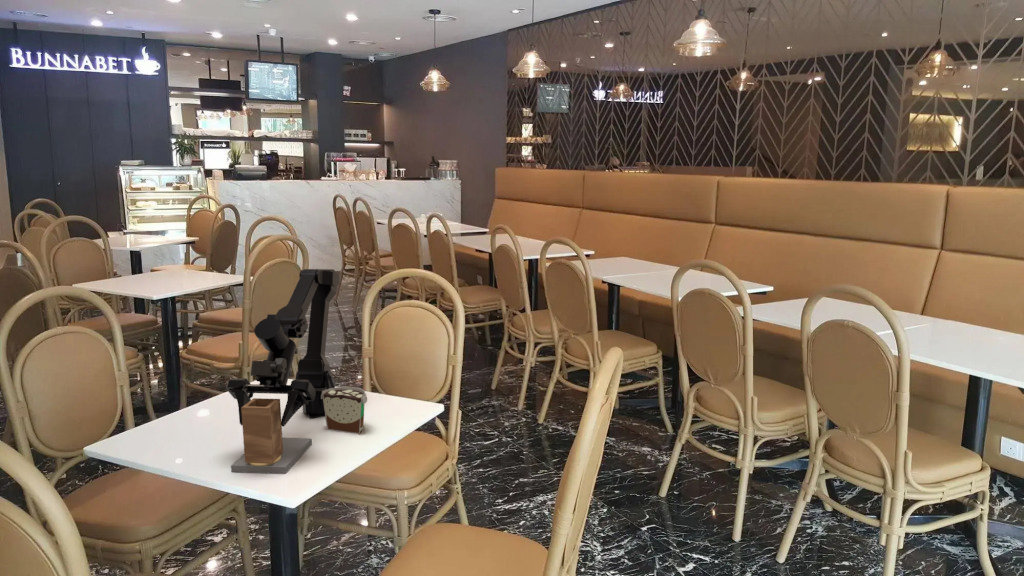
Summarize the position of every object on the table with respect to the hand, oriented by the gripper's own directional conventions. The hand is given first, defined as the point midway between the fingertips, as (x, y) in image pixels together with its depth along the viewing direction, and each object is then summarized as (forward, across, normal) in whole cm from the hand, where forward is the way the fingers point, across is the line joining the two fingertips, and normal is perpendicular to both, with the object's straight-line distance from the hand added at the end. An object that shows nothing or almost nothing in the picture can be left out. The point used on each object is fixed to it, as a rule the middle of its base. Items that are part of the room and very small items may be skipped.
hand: (261, 425), depth 150 cm
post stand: (+3, 0, +10) cm, 11 cm away
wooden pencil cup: (+5, 0, +6) cm, 8 cm away
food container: (-10, +12, +24) cm, 29 cm away
